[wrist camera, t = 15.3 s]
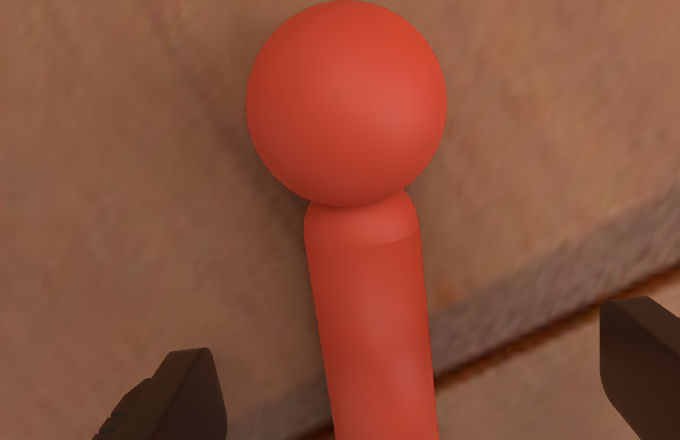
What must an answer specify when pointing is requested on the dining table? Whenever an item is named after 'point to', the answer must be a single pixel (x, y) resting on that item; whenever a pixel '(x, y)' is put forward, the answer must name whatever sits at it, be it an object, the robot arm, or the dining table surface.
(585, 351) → the dining table surface
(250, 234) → the dining table surface
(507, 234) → the dining table surface
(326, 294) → the red ball-tipped rod
